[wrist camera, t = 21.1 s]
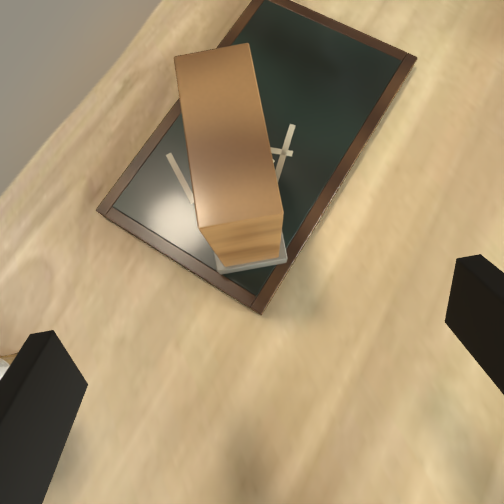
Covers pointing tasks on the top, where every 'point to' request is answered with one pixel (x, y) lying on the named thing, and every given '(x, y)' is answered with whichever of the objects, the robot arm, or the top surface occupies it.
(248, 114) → the eraser
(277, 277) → the chalkboard
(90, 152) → the top surface
